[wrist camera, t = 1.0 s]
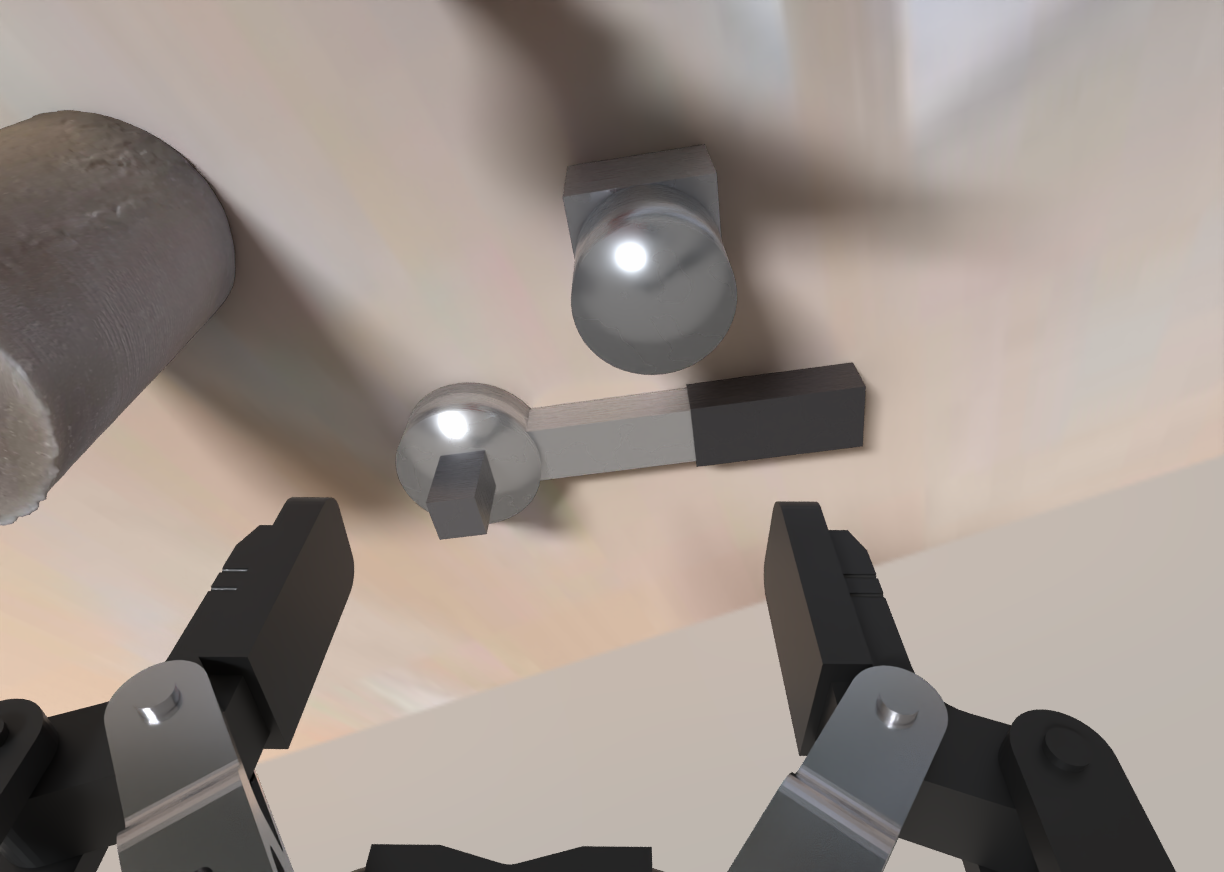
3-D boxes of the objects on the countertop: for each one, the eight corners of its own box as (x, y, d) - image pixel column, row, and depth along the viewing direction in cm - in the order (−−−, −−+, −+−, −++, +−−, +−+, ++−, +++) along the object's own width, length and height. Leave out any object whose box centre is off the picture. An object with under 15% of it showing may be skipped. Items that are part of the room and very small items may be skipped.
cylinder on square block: (704, 144, 30) (731, 209, 23) (714, 274, 33) (741, 363, 26) (567, 166, 30) (556, 235, 24) (590, 292, 34) (586, 384, 27)
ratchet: (853, 329, 35) (894, 397, 30) (849, 448, 39) (884, 527, 34) (388, 392, 36) (354, 467, 32) (430, 501, 40) (405, 582, 36)
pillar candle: (-49, 205, 31) (-466, 402, 19) (82, 52, 28) (-322, 171, 16) (157, 367, 36) (-73, 607, 24) (290, 251, 32) (102, 463, 20)
